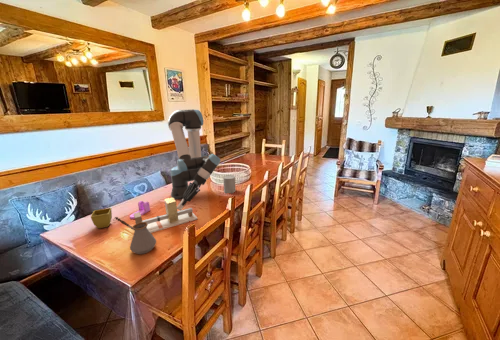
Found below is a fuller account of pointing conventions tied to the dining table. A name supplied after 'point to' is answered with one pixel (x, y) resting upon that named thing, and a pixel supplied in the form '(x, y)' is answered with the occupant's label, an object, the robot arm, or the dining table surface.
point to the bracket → (141, 208)
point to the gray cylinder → (229, 184)
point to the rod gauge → (166, 220)
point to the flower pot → (101, 217)
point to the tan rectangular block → (171, 209)
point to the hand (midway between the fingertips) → (178, 209)
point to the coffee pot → (140, 238)
